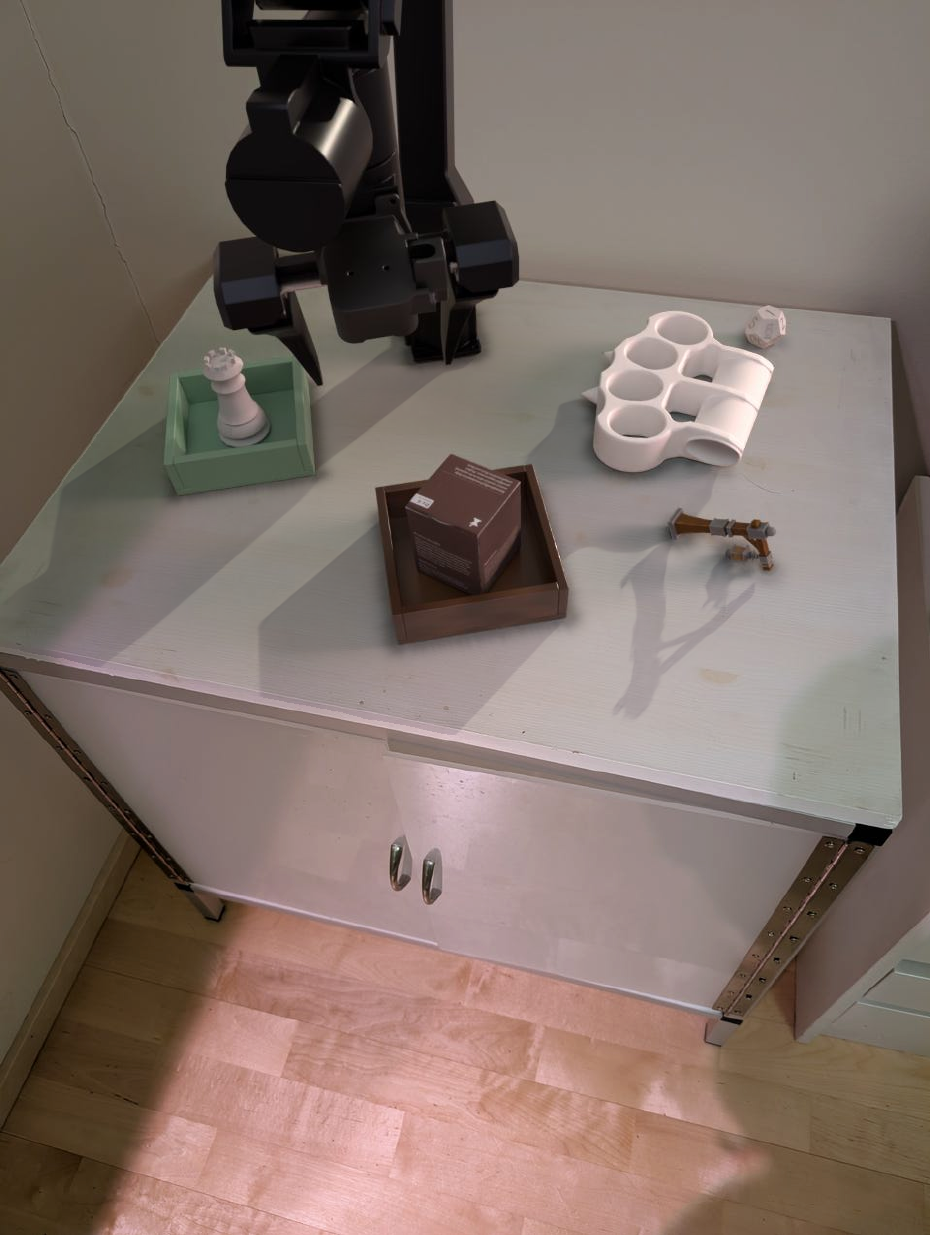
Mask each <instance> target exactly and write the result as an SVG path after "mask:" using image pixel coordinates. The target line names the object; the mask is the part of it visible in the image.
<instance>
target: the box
mask: <svg viewBox="0 0 930 1235" xmlns="http://www.w3.org/2000/svg"><path fill="white" fill-rule="evenodd" d="M493 470H494V469H491V468H489V467H486V466H484V465H481V464H478V463H477V462H473V461H471V460H469V459H466V458H463V457H461V456H459V455H457V454H454V453H450V454H448V456H447V457H446V458H445V459H444V461H443V462H442V463H441V464H440V465H439V466H438V467H437V468H436V470H435V471H434V472H433V474H432V475H431V476H430V477H429V478H428V479H427V480H428V481H427V482H426V483H425V484H424V485H423V486H422V487H421V489H420V490H419V491H418V492H417V493H416V494H415V495H414V496H413V498H412V499H411V500H410V501H409V503H408V504H407V505H406V506H405V509H406V513H407V519H408V524H409V529H410V535H411V541H412V547H413V551H414V557H415V562H416V567H417V570H418V571H420V572H422V573H424V574H426V575H429V576H431V577H433V578H435V579H437V580H439V581H442V582H444V583H446V584H448V585H450V586H453V587H455V588H457V589H459V590H461V591H463V592H465V593H468V594H470V595H472V596H474V595H480V594H486V593H488V591H489V590H490V589H491V587H492V586H493V585H494V583H495V582H496V580H497V579H498V578H499V576H500V575H501V574H502V572H503V571H504V569H505V568H506V567H507V565H508V564H509V563H510V561H511V560H512V558H513V557H514V556H515V554H516V553H517V552H518V550H519V549H520V548H521V494H520V484H521V482H520V481H518V480H515V479H513V478H510V477H508V476H506V475H503V474H501V473H498V472H496V471H493Z"/></svg>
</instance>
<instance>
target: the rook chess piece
mask: <svg viewBox="0 0 930 1235" xmlns="http://www.w3.org/2000/svg"><path fill="white" fill-rule="evenodd" d="M218 351H219V352H218V353H216V352H215V350H214V349H211V350H209V351H208V352H207V354H208V355H204V358H203V362H204V365H203V367H202V369H203V373H204V376H206V377H207V378H208V379H210V380H212V383H211V387H212V389H213V390H214V391H215V392H216V393H217V396H218V402H219V407H220V409H219V413H218V419H217V428H218V430H219V435H220V438H221V440H222V441H223V442H225V443H226V444H227V445H230V446H232V447H236V448H237V447H244V446H250V445H257V444H258V443H260V442H261V441H263V439H264V438H265V437H266V435H267V434H268V432H269V428H270V423H269V420H268V418H267V416H266V414H265V411H264V410H263V408H262V407H260V406H259V405H258V404H257V403H256V402H255V401H253V400H252V399H251V397H250V395H249V393H248V391H247V390H246V388H245V385H244V384H245V377H244V375H242V374H241V373H240V372H241V370H242V368H243V363H244V362H243V360H242V359H241V358H240V357H239V356H238V355H236V353H235V351H234V350H233V349H232V348H229V349H228V350H227V348H226V347H218Z"/></svg>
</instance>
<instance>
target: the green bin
mask: <svg viewBox="0 0 930 1235" xmlns="http://www.w3.org/2000/svg"><path fill="white" fill-rule="evenodd" d="M240 373H241V374H242V375H244V377H245V384H244V385H245V388H246V390H247V391H248V393H249V395H250V397H251V399H252V400H253V401H255V402H256V403H257V404H258V405H259V406H260V407H262V408H263V410H264V411H265V414H266V416H267V418H268V420H269V423H270V428H269V432H268V434H267V435H266V437H265V438H264V439H263V441H261V442H260V443H258V444H257V445H250V446H244V447H237V448H236V447H232V446H230V445H227V444H226V443H225V442H223V441H222V440H221V438H220V435H219V430H218V428H217V419H218V413H219V409H220V407H219V402H218V396H217V393H216V392H215V391H214V390H213V389H212V387H211V383H212V380H210V379H208V378H207V377H206V376H204V373H203V368H198V369H191V370H184V371H179V372H170V373H169V381H168V382H169V384H168V394H167V395H168V396H167V409H166V423H165V434H164V436H165V437H164V449H163V450H164V451H163V452H164V453H163V465H162V466H163V467H164V469H165V472H166V474H167V477H168V478H169V480H170V482H171V484H172V486H173V488H174V490H175V493H176V495H177V496H185V495H190V494H191V495H192V494H198V493H205V492H213V491H217V490H219V491H220V490H227V489H231V488H237V487H239V488H240V487H245V486H250V485H257V484H264V483H265V484H266V483H272V482H278V481H285V480H291V479H298V478H299V479H300V478H304V477H313V476H316V466H315V465H316V464H315V456H314V455H315V453H314V439H313V425H312V413H311V412H312V411H311V401H310V400H311V399H310V388H309V387H310V386H309V383H308V378H307V375H306V370H305V369H304V368H303V367H302V365H301V364H300V363H299V361H298V360H297V359H296V357H295V356H294V355H290V356H283V357H282V356H281V357H274V358H267V359H261V360H253V361H247V362H243V368H242V370H241V372H240Z"/></svg>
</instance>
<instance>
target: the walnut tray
mask: <svg viewBox="0 0 930 1235" xmlns="http://www.w3.org/2000/svg"><path fill="white" fill-rule="evenodd" d="M492 470H493V471H496V472H498V473H501V474H503V475H506V476H508V477H510V478H513V479H515V480H518V481H520V482H521V484H520V494H521V548H520V549H519V550H518V552H517V553H516V554H515V556H514V557H513V558H512V560H511V561H510V563H509V564H508V565H507V567H506V568H505V569H504V571H503V572H502V574H501V575H500V576H499V578H498V579H497V580H496V582H495V583H494V585H493V586H492V587H491V589H490V590H489V591H488V593H486V594H480V595H474V596H472V595H470V594H468V593H465V592H463V591H461V590H459V589H457V588H455V587H453V586H450V585H448V584H446V583H444V582H442V581H439V580H437V579H435V578H433V577H431V576H429V575H426V574H424V573H422V572H420V571H418V570H417V567H416V562H415V557H414V551H413V547H412V541H411V535H410V529H409V524H408V519H407V513H406V509H405V506H406V505H407V504H408V503H409V501H410V500H411V499H412V498H413V496H414V495H415V494H416V493H417V492H418V491H419V490H420V489H421V487H422V486H423V485H424V484H425V483H426V482H427V481H428V479H423V480H416V481H410V482H403V483H395V484H389V485H384V486H383V485H382V486H377V487H374V492H375V497H376V499H375V500H376V505H377V513H378V521H379V528H380V536H381V544H382V551H383V558H384V566H385V573H386V579H387V580H386V581H387V588H388V595H389V603H390V611H391V617H392V623H393V627H394V631H395V636H396V641H397V642H396V643H397V644H398V645H404V644H411V643H417V642H423V641H430V640H436V639H441V638H449V637H455V636H460V635H468V634H473V633H479V632H485V631H492V630H498V629H505V628H510V627H511V628H512V627H516V626H517V627H518V626H522V625H523V626H524V625H531V624H535V623H541V622H547V621H555V620H560V619H566V618H567V617H568V604H569V590H570V587H569V583H568V580H567V577H566V574H565V569H564V566H563V562H562V560H561V556H560V553H559V549H558V545H557V542H556V539H555V535H554V531H553V529H552V525H551V521H550V519H549V518H550V517H549V514H548V510H547V509H546V504H545V501H544V498H543V494H542V491H541V487H540V484H539V481H538V477H537V474H536V470H535V467H534V464H533V463H530V464H521V465H515V466H509V467H501V468H494V469H492Z"/></svg>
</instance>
